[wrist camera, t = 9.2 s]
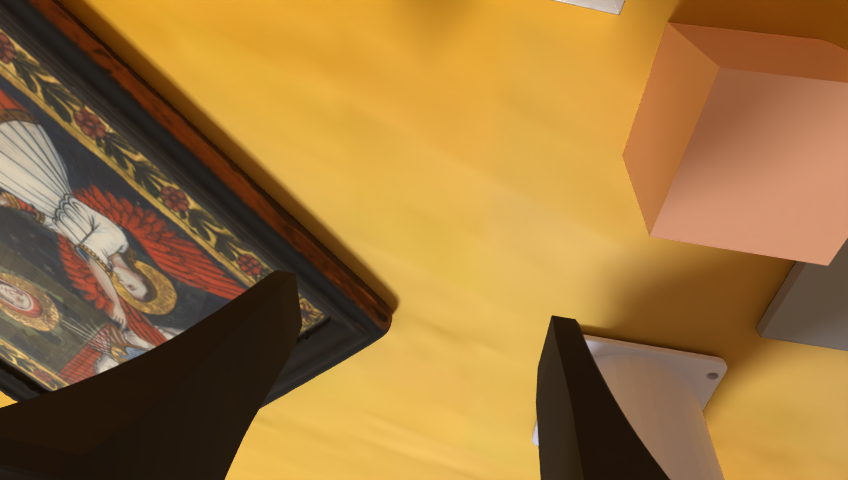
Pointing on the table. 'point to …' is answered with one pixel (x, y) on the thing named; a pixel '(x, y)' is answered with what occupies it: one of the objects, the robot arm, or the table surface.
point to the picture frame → (598, 5)
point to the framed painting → (135, 221)
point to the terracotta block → (744, 143)
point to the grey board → (811, 305)
